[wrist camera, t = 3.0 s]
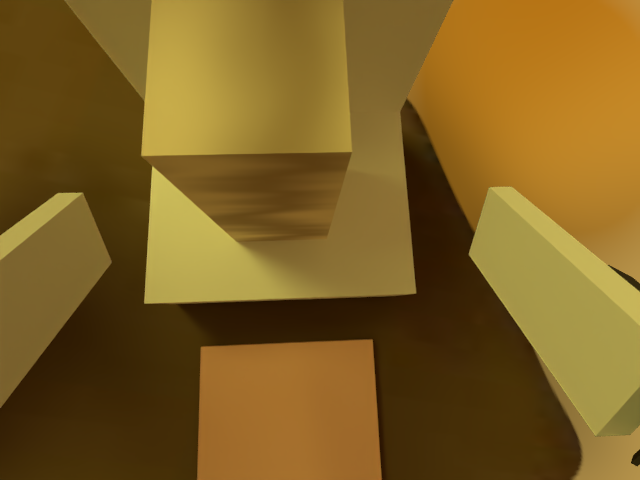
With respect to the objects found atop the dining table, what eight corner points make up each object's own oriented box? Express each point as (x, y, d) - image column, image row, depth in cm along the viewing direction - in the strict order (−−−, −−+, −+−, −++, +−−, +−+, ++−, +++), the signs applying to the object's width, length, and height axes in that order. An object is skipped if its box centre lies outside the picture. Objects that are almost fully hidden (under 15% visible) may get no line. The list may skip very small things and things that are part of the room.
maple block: (236, 241, 21) (141, 155, 9) (236, 164, 22) (151, -7, 10) (326, 239, 21) (352, 151, 9) (323, 162, 22) (342, -7, 10)
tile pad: (198, 539, 22) (195, 546, 21) (203, 346, 24) (200, 346, 24) (383, 527, 22) (385, 533, 22) (371, 338, 25) (372, 339, 24)
